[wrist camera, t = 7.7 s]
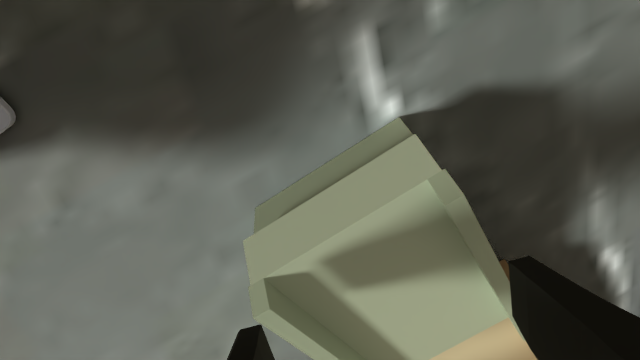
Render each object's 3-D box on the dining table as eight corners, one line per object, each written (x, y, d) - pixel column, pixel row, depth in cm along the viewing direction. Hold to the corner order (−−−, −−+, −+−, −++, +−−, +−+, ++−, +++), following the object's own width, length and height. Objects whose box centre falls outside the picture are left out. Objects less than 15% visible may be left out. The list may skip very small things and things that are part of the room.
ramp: (245, 199, 20) (234, 299, 14) (394, 104, 18) (449, 169, 13) (374, 353, 24) (407, 477, 18) (501, 284, 23) (578, 393, 17)
